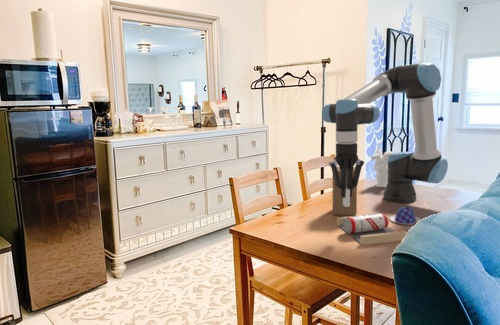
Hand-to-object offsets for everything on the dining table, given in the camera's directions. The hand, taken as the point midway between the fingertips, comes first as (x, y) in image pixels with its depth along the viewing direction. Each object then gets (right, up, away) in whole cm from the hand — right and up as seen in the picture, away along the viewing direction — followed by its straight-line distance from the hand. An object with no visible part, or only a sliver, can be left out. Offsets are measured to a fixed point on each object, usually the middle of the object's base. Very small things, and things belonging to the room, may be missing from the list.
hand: (346, 205), depth 137 cm
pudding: (+28, -8, +15) cm, 33 cm away
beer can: (0, -8, +1) cm, 8 cm away
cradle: (+10, -10, +3) cm, 15 cm away
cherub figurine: (+38, +2, +72) cm, 82 cm away
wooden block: (+6, -6, +28) cm, 29 cm away
